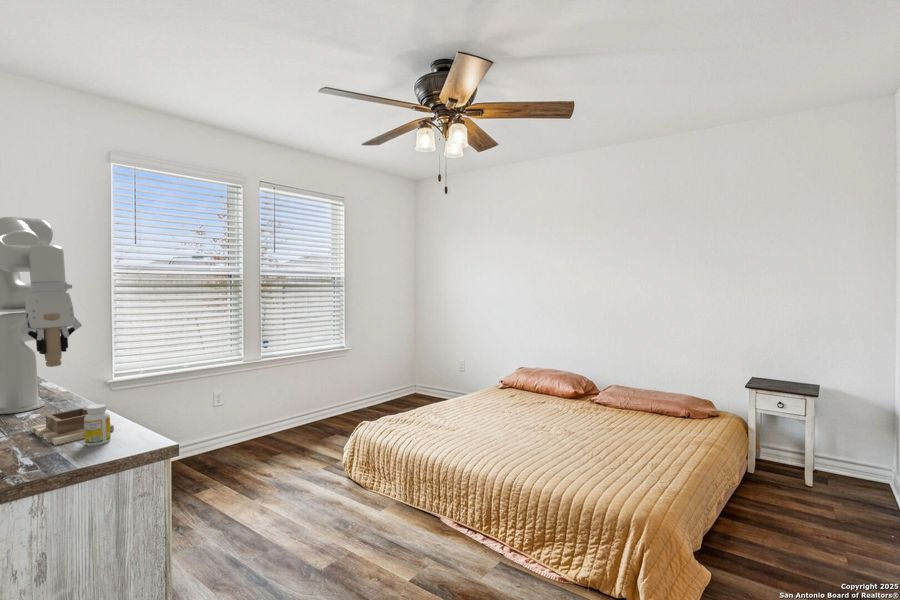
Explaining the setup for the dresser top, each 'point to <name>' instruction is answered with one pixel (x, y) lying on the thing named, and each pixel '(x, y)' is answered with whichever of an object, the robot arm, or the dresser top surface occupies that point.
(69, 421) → the wooden base with box
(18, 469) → the dresser top surface
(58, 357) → the handle
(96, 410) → the supplement bottle
